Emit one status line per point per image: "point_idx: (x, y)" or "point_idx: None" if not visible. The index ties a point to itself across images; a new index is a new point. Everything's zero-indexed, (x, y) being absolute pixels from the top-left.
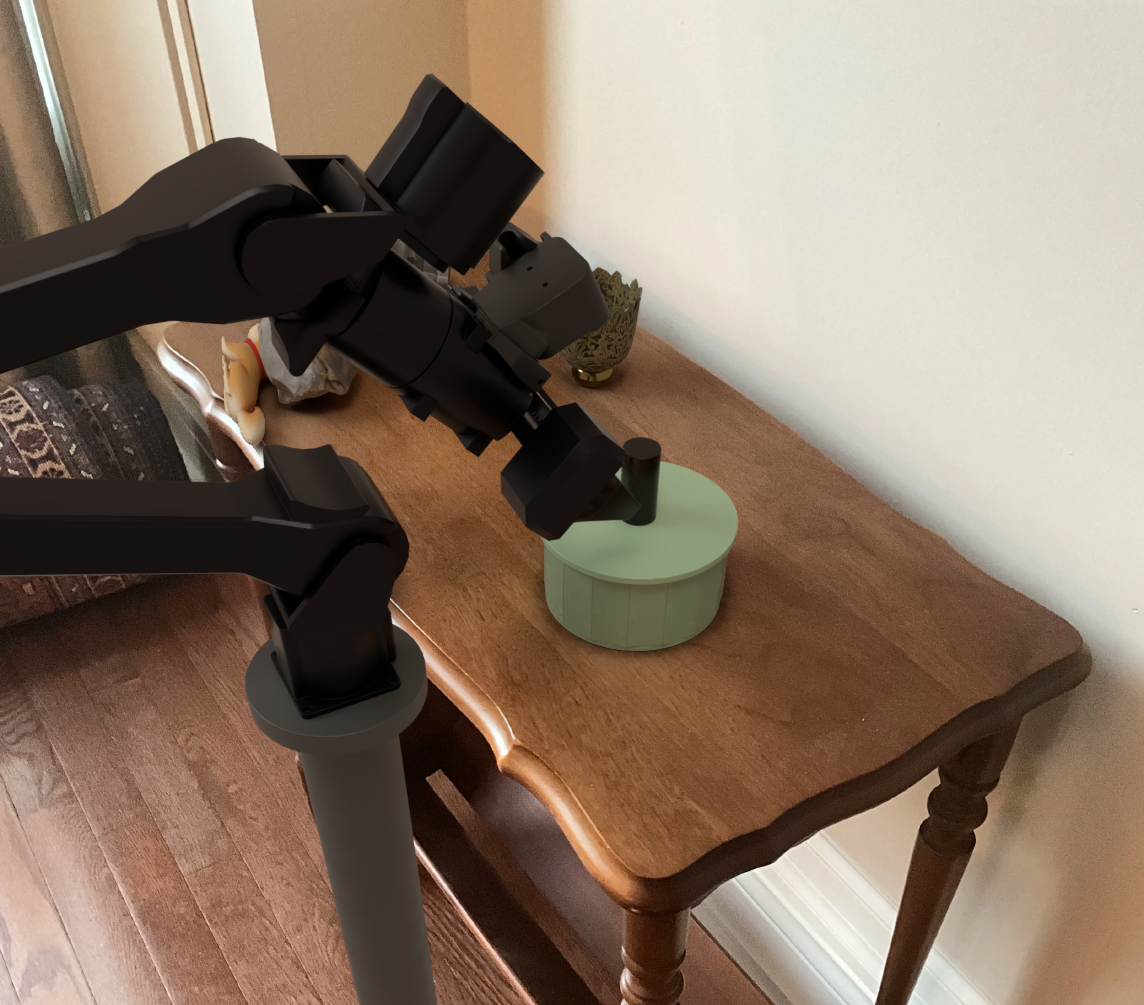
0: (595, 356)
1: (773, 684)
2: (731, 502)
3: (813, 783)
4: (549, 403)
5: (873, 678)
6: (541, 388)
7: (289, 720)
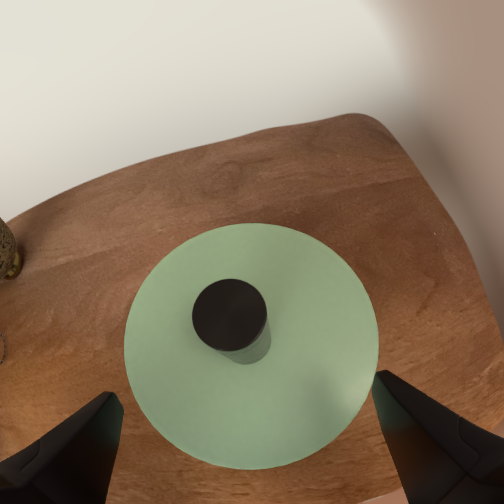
0: (4, 260)
1: (400, 277)
2: (258, 224)
3: (479, 286)
4: (79, 441)
5: (399, 210)
6: (55, 457)
7: None
